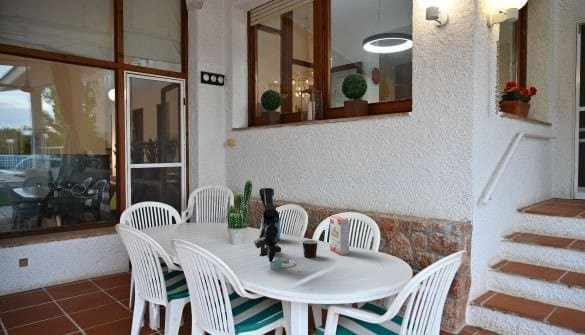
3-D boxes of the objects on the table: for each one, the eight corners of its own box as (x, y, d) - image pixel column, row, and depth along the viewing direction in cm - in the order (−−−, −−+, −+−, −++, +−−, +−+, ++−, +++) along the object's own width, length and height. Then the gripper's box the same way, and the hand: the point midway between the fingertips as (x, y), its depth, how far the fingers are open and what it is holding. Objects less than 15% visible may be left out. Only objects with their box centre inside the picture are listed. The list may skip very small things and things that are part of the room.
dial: (284, 260, 206) (284, 253, 206) (298, 264, 200) (298, 256, 200) (264, 267, 193) (264, 260, 193) (279, 271, 187) (279, 264, 187)
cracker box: (329, 250, 234) (329, 216, 233) (338, 249, 236) (338, 215, 235) (340, 255, 221) (340, 220, 220) (349, 254, 223) (349, 219, 222)
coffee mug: (316, 261, 209) (316, 243, 208) (301, 260, 211) (301, 243, 210) (319, 256, 220) (319, 239, 220) (304, 255, 222) (304, 238, 222)
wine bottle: (260, 238, 267) (260, 195, 265) (279, 237, 268) (279, 195, 267) (261, 242, 253) (261, 198, 252) (281, 242, 254) (280, 197, 253)
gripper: (250, 230, 203) (251, 258, 204) (259, 237, 186) (260, 268, 186) (270, 228, 207) (271, 256, 207) (281, 235, 189) (281, 266, 190)
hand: (270, 262), depth 198 cm, fingers closed
